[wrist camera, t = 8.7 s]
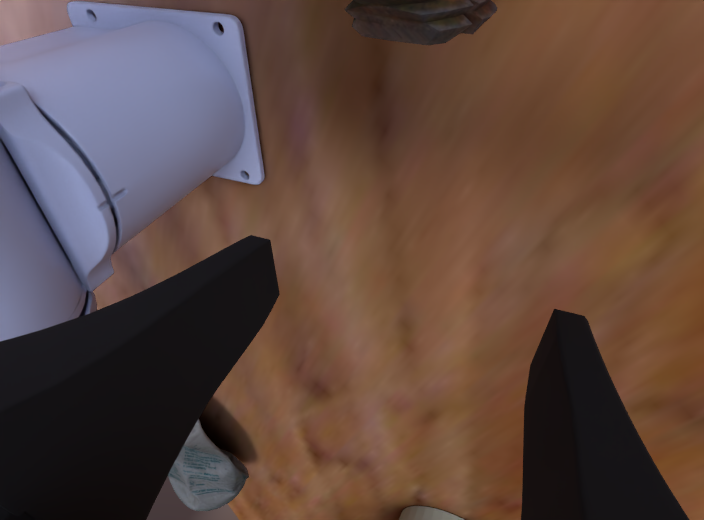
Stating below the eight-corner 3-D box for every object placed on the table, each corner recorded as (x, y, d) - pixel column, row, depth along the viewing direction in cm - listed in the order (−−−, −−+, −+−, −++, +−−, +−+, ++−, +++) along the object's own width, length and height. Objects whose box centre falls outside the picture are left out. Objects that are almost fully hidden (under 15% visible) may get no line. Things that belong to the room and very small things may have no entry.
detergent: (271, 473, 51) (184, 333, 36) (234, 536, 46) (117, 404, 31) (191, 437, 57) (88, 303, 41) (151, 490, 52) (18, 360, 37)
